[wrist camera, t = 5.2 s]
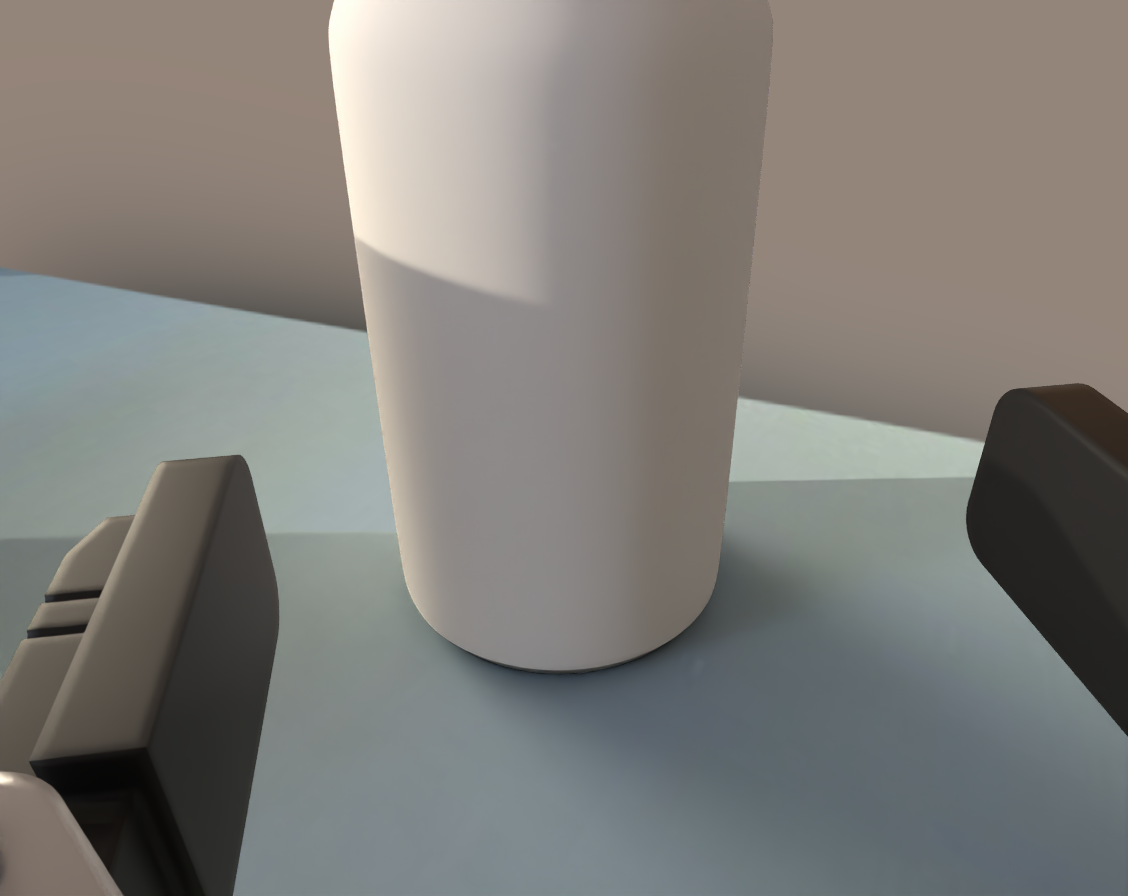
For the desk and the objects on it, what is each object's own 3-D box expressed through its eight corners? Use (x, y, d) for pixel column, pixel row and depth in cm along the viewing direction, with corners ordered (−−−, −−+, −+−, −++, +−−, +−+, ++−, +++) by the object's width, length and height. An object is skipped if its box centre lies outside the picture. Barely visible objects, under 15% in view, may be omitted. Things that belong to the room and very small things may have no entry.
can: (388, 508, 21) (299, -103, 14) (652, 464, 22) (680, -111, 16) (429, 723, 15) (314, -98, 9) (774, 645, 17) (892, -109, 10)
